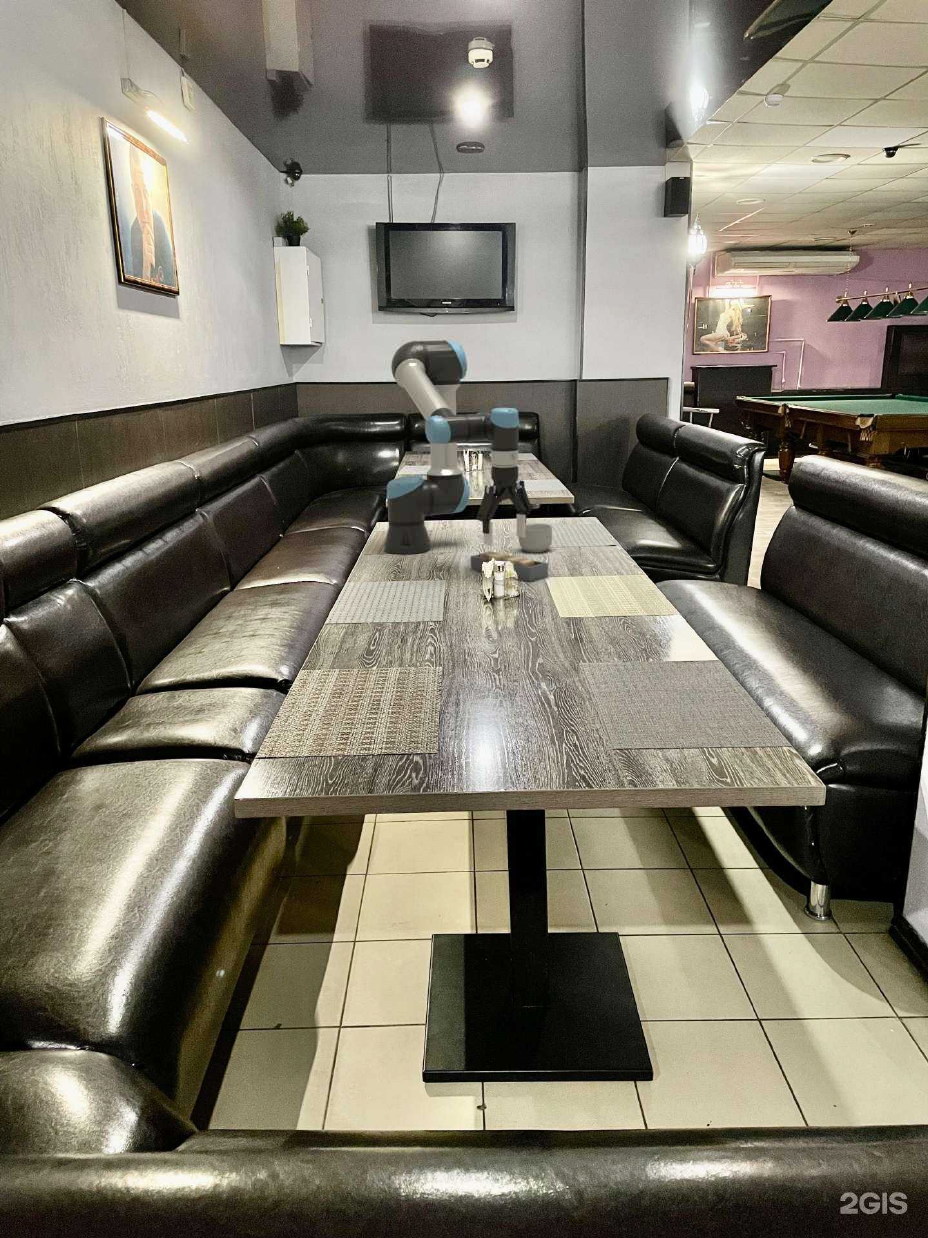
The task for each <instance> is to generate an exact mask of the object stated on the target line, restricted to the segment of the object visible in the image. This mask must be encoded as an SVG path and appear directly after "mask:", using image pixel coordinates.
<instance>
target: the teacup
mask: <svg viewBox="0 0 928 1238" xmlns="http://www.w3.org/2000/svg"><path fill="white" fill-rule="evenodd" d="M552 529H553V525H552V524H550V523H544V522H543V523H542V522H541V523H540V522H537V523H530V522H528V523H526V525H525V537H524V538H523V537H518V543H519V546H520V548H522V549H523V550H524V552H526V553H533V554H534V553H543V552H545V551H547V550H548V549H549V547H551V545H552V543H553V542H552V541H553V531H552Z"/></svg>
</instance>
